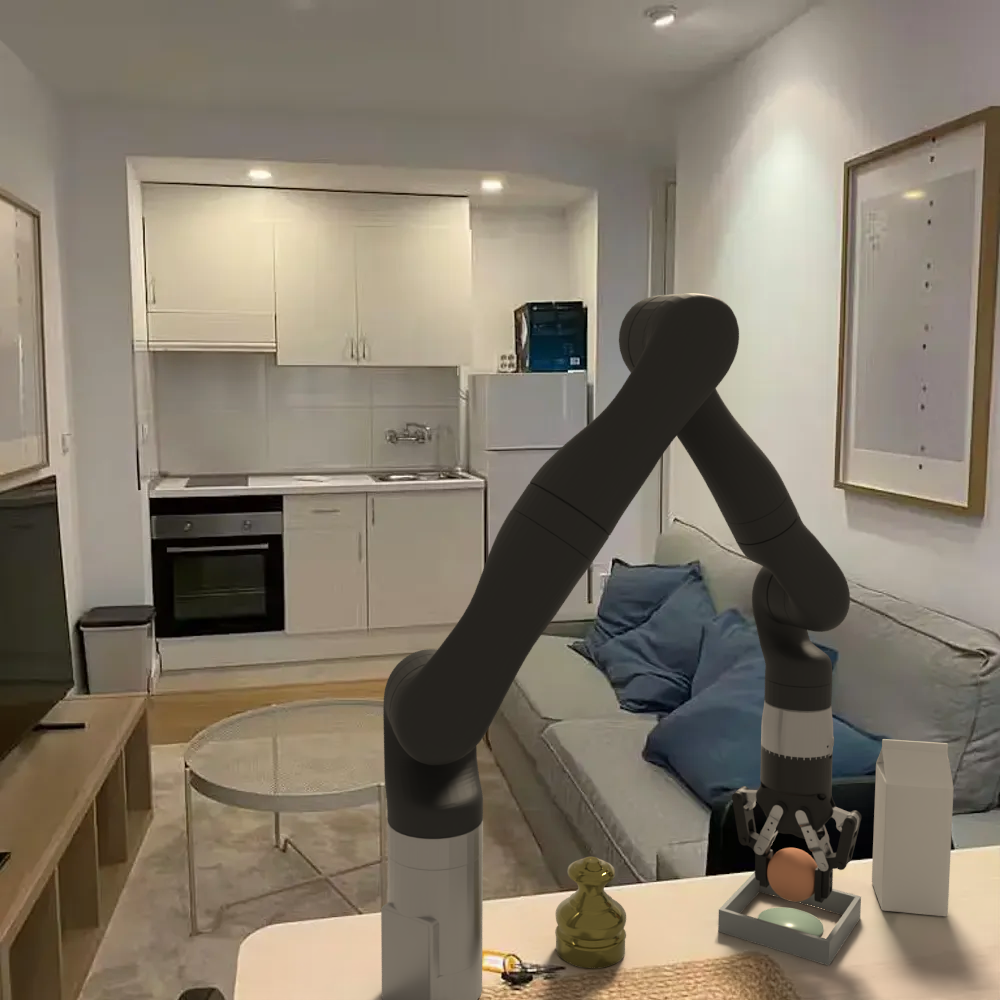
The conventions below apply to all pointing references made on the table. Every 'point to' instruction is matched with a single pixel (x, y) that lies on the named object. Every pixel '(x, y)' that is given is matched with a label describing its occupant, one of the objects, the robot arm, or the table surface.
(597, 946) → the olive green chess piece
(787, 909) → the grey soap tray
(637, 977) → the table surface
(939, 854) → the milk carton
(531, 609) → the robot arm
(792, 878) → the ball
